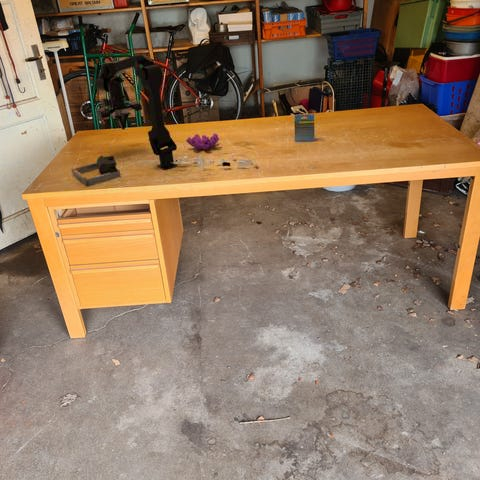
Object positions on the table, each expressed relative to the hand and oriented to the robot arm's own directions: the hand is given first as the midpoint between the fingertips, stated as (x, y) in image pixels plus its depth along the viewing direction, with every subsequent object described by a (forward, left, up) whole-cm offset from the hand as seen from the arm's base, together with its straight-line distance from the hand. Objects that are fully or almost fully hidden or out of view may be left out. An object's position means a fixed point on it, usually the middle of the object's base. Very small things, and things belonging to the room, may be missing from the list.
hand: (123, 129), depth 203 cm
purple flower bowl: (-18, -29, -12) cm, 36 cm away
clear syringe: (-40, -21, -13) cm, 47 cm away
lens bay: (-14, +20, -12) cm, 27 cm away
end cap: (-16, +16, -12) cm, 26 cm away
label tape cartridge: (-43, -68, -12) cm, 81 cm away
